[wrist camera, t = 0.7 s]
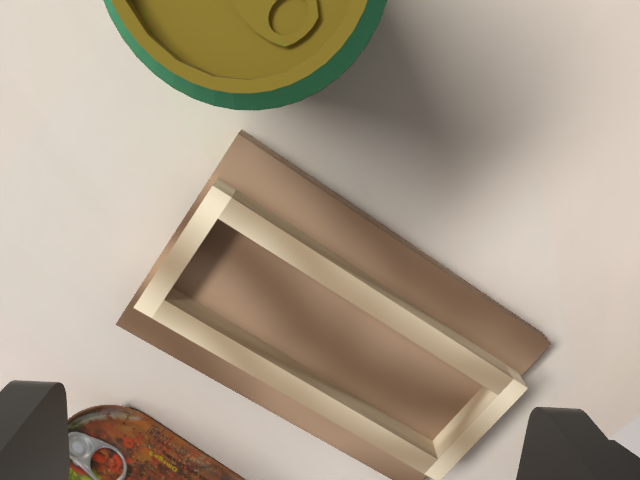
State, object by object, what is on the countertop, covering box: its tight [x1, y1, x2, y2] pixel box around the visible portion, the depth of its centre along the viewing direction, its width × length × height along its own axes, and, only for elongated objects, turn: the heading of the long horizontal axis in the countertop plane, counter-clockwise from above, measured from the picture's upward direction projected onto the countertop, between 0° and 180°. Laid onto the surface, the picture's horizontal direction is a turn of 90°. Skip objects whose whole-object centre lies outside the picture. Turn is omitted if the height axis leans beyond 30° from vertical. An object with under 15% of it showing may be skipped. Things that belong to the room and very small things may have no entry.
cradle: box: [116, 130, 551, 480], centre depth 29 cm, size 12×20×3 cm, turn 55°
